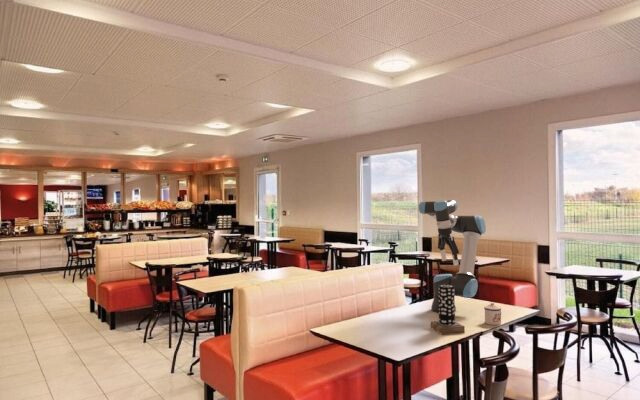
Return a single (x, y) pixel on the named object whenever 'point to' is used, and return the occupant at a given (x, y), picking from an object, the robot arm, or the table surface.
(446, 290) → the white-spotted black cylinder
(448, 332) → the plinth
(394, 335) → the table surface
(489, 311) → the teacup with lid
